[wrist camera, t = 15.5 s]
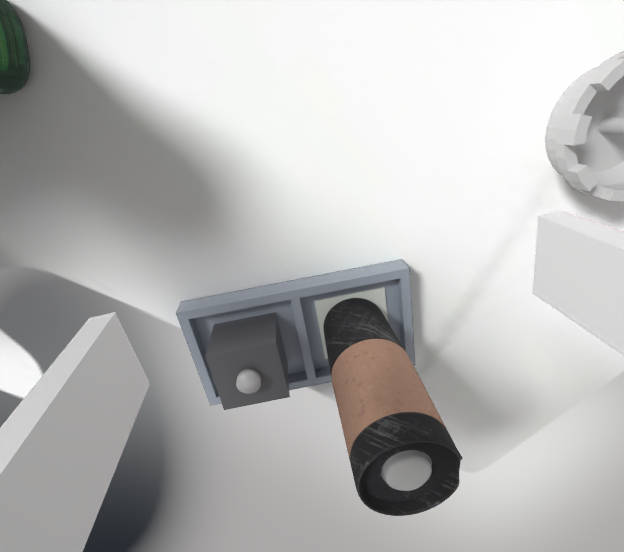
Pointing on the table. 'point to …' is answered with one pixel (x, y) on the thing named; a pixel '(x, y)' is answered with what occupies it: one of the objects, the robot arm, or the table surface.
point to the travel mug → (387, 415)
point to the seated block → (248, 361)
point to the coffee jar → (12, 51)
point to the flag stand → (591, 132)
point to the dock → (301, 316)
